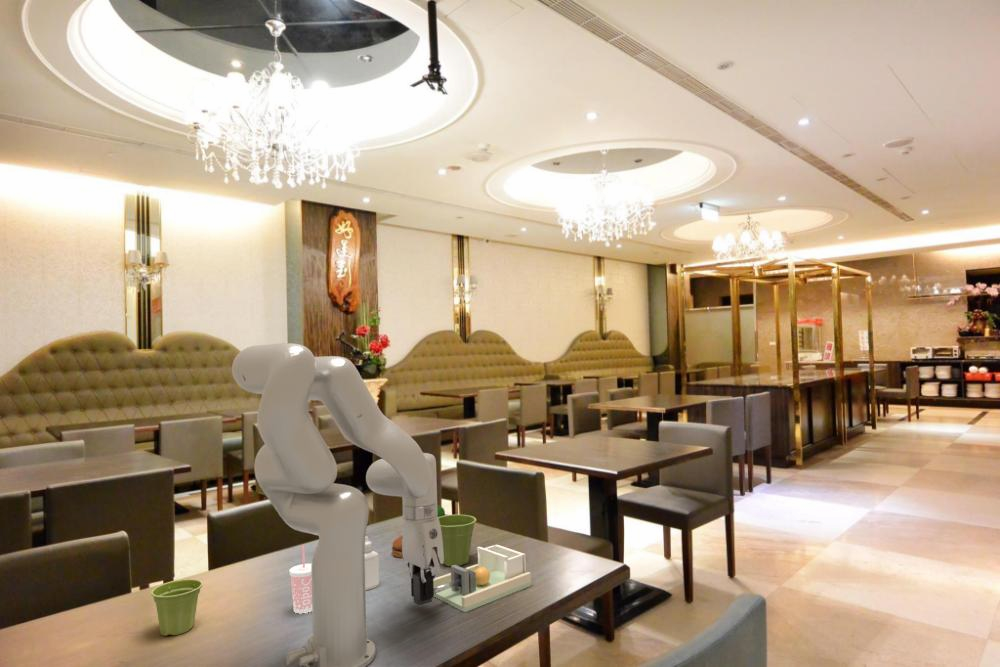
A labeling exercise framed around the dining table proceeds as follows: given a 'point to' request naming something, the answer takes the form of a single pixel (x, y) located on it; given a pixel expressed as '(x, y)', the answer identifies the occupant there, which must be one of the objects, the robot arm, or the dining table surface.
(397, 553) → the burger
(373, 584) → the eye dropper bottle
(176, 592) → the plant pot
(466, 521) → the plant pot
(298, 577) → the beverage cup
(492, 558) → the pitch
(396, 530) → the dining table surface
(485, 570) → the ball
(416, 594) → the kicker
